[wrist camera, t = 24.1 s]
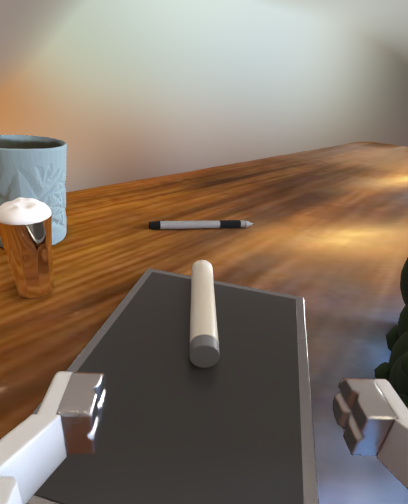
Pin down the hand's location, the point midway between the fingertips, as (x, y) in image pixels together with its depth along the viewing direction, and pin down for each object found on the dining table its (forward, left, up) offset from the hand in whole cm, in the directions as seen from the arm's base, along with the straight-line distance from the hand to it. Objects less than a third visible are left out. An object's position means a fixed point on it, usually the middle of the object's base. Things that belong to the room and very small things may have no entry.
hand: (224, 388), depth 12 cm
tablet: (+11, +3, -10) cm, 15 cm away
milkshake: (+16, +21, -10) cm, 28 cm away
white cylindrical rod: (+10, +2, -8) cm, 13 cm away
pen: (+38, +9, -10) cm, 41 cm away
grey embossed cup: (+27, +29, -10) cm, 41 cm away
